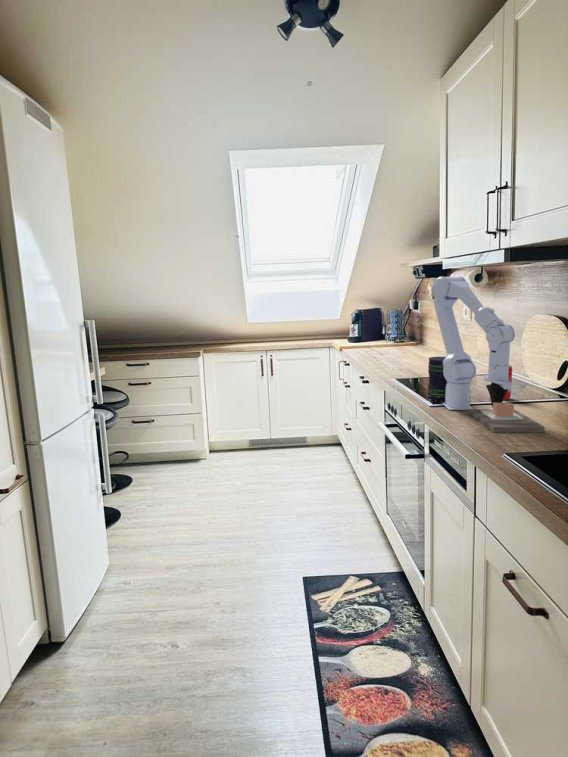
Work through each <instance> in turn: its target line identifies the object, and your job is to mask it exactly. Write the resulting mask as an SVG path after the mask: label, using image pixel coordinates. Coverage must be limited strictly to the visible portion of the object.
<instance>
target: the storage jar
mask: <svg viewBox="0 0 568 757" xmlns="http://www.w3.org/2000/svg"><path fill="white" fill-rule="evenodd" d="M446 357H447V356H431V357H428V366H427V368H428V371H427V373H428V383H427V400H428V399H431V400H436V401H443V402H442V403H445V393H446V385H447V383H448V382H447V380H446V379H445V377H444V374H443V369H444V366H443V361H444V359H445V358H446ZM455 363H457V362H455ZM431 400H430V401H431ZM436 401H435V402H436Z"/></svg>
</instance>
